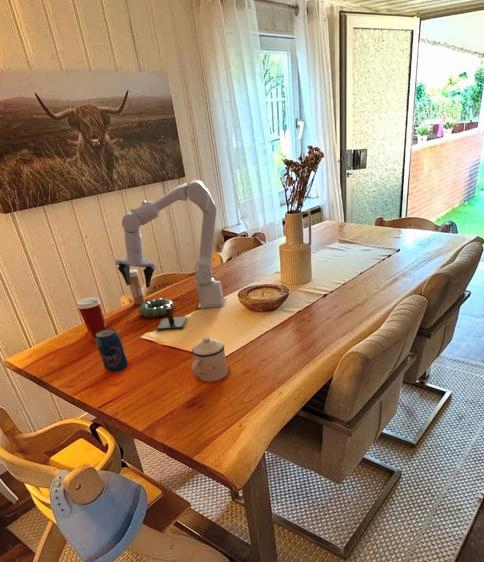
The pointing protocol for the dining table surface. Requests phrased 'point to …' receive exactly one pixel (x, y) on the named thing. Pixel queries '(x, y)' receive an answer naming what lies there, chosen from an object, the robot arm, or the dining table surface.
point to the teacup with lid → (209, 360)
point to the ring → (155, 307)
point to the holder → (171, 321)
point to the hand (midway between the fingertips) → (138, 285)
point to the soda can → (111, 350)
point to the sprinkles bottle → (136, 288)
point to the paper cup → (92, 315)
